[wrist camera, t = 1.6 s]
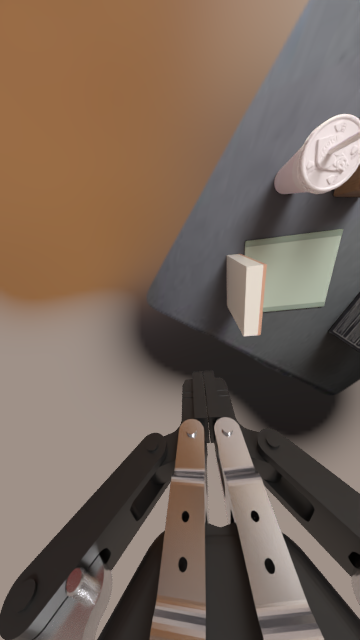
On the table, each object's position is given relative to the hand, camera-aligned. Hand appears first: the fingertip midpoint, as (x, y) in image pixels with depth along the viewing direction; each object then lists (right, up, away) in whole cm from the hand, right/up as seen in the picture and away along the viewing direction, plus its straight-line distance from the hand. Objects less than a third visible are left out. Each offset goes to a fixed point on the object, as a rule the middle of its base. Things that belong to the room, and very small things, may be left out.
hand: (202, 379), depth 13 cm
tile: (+9, +12, +22) cm, 26 cm away
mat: (+19, +13, +21) cm, 31 cm away
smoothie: (+15, +26, +15) cm, 33 cm away
